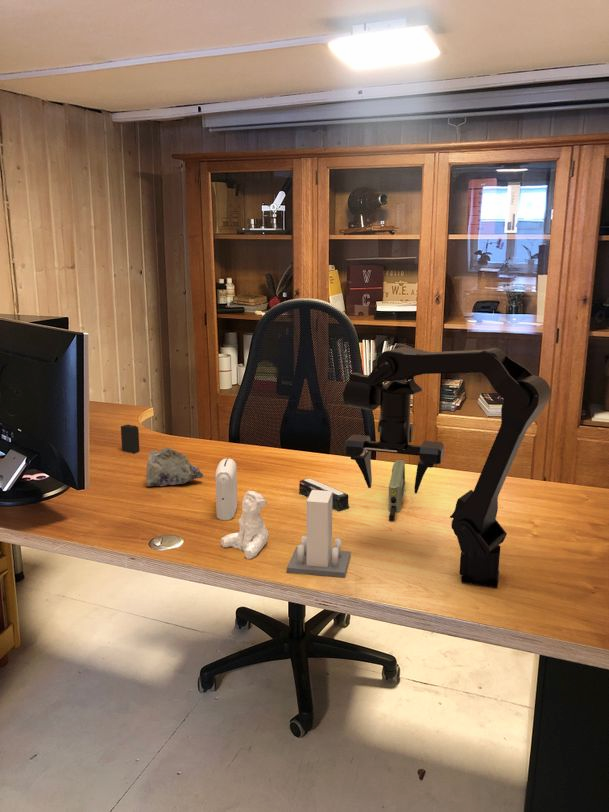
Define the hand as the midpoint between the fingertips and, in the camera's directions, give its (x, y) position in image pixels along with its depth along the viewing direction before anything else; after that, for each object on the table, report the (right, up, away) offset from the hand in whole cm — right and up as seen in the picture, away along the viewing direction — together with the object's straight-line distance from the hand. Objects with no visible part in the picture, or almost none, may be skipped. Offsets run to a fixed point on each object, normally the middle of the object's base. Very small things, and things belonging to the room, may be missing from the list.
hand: (392, 490), depth 132 cm
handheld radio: (+5, -7, +29) cm, 30 cm away
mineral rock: (-51, -4, +41) cm, 66 cm away
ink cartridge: (-69, +3, +68) cm, 97 cm away
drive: (-15, -13, -3) cm, 20 cm away
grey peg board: (-15, -14, -2) cm, 20 cm away
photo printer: (-35, -8, +23) cm, 43 cm away
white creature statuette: (-29, -12, +5) cm, 32 cm away
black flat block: (-13, -6, +32) cm, 35 cm away
